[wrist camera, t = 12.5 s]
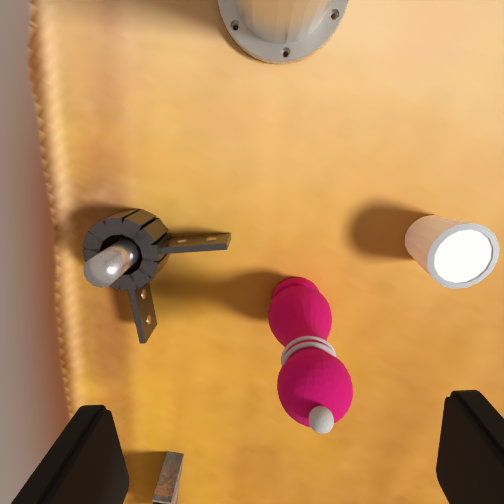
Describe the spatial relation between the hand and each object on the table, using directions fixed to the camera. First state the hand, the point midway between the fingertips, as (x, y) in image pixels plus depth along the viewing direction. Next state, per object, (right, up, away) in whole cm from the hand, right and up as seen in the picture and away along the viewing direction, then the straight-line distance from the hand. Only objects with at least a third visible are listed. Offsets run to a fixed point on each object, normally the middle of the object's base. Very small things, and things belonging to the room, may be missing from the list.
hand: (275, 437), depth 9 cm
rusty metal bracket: (-14, -31, +43) cm, 55 cm away
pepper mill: (+5, -1, +32) cm, 33 cm away
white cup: (+20, +7, +29) cm, 36 cm away
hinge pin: (-15, +6, +30) cm, 34 cm away
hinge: (-11, +3, +31) cm, 33 cm away
